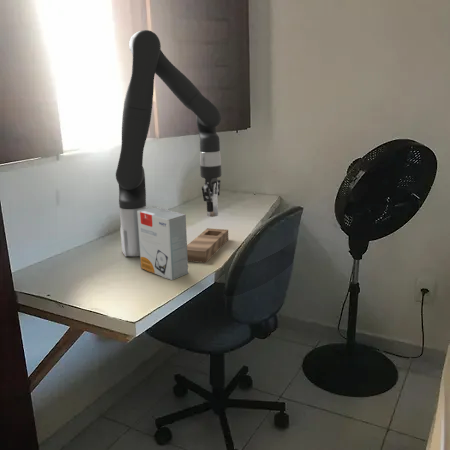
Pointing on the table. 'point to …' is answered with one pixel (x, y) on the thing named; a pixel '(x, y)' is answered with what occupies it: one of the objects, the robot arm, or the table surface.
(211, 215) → the brushed metal cylinder
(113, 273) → the table surface
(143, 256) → the hard drive box
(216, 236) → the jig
